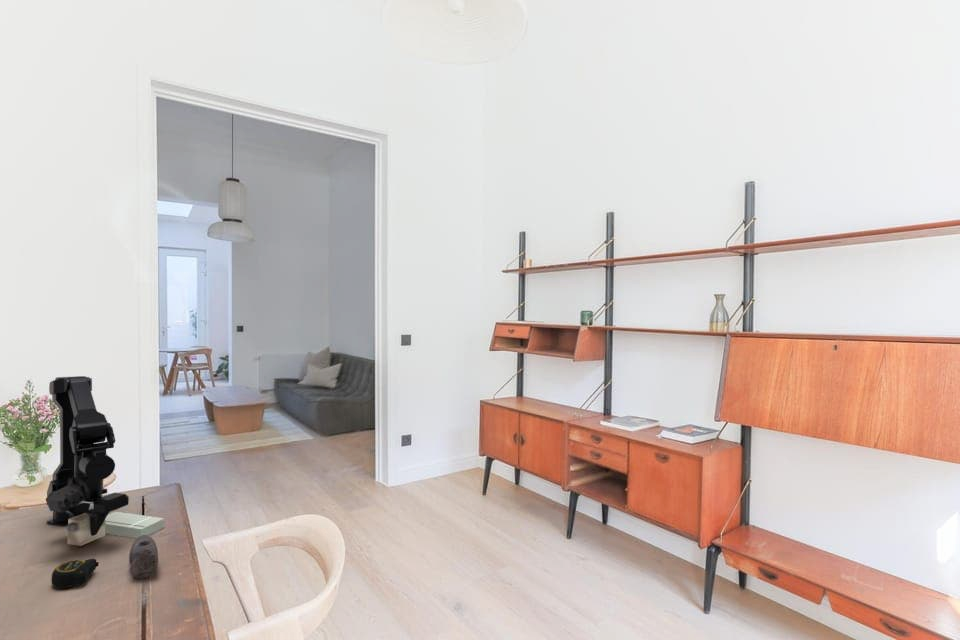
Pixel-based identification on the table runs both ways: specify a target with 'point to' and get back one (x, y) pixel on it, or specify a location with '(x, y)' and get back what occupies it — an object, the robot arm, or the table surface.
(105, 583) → the table surface
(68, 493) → the robot arm
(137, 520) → the painted board
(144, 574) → the perforated stone tool
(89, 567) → the tape measure
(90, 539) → the stacked beige grey blocks
